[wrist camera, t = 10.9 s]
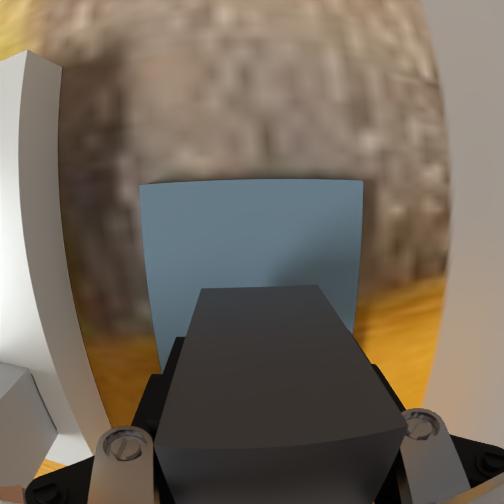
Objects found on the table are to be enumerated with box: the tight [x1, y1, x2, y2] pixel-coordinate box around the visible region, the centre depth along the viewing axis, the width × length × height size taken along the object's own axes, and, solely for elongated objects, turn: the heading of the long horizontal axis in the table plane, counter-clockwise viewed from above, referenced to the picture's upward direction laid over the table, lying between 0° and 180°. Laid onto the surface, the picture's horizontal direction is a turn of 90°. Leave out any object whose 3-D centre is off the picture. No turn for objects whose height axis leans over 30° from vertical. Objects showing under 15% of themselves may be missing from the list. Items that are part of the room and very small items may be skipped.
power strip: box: [0, 50, 112, 466], centre depth 13 cm, size 24×8×4 cm, turn 1°
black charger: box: [153, 285, 409, 504], centre depth 9 cm, size 5×4×8 cm
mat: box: [139, 179, 363, 374], centre depth 15 cm, size 12×10×1 cm
